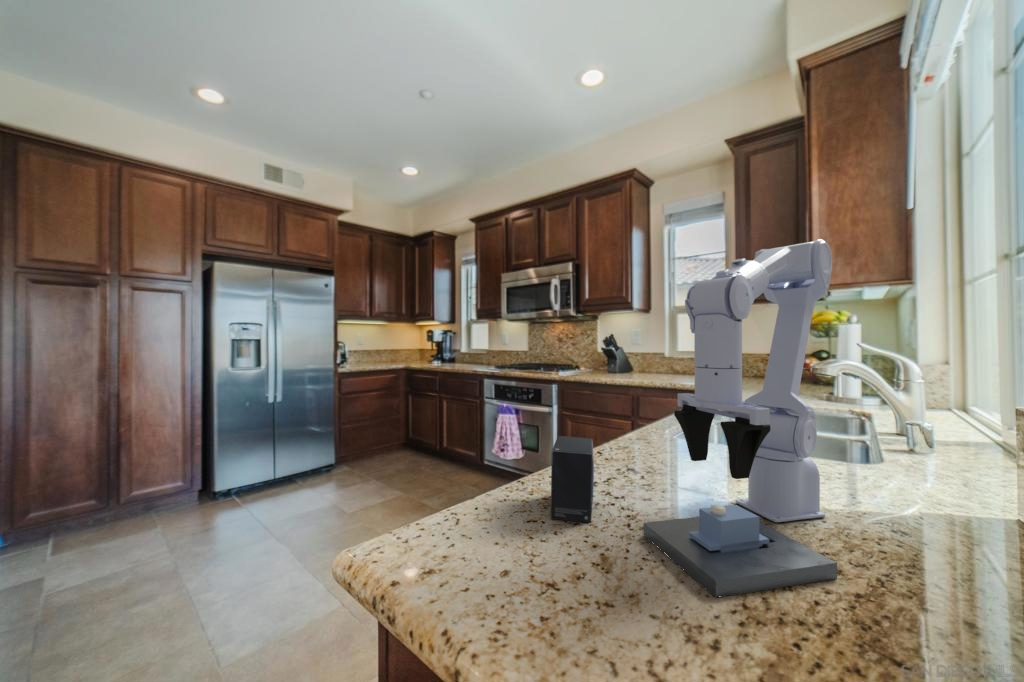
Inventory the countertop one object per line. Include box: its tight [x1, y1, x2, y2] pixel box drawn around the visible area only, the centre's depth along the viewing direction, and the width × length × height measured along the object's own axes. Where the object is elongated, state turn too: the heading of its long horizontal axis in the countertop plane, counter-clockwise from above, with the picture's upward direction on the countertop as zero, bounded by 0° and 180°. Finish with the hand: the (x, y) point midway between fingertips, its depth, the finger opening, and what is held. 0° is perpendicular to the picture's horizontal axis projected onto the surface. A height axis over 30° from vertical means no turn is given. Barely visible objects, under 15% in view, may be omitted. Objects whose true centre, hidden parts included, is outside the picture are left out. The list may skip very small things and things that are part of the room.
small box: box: [549, 435, 595, 523], centre depth 65 cm, size 11×6×10 cm, turn 168°
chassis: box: [642, 516, 838, 598], centre depth 51 cm, size 16×14×2 cm
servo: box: [689, 504, 769, 554], centre depth 51 cm, size 9×4×6 cm, turn 103°
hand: (718, 468), depth 54 cm, fingers open, 7 cm apart
